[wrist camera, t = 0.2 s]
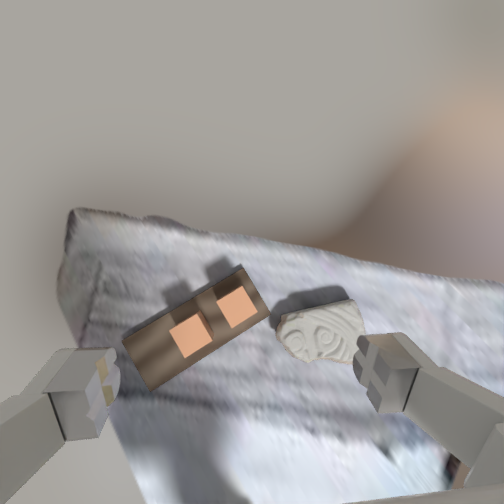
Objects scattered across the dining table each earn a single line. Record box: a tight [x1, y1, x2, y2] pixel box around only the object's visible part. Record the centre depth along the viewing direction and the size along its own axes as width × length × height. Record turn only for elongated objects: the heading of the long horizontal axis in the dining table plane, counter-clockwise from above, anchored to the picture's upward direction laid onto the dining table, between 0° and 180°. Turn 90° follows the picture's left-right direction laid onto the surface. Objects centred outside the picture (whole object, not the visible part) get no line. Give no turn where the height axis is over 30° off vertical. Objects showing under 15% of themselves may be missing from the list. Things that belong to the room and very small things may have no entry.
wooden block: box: [169, 310, 214, 358], centre depth 55 cm, size 6×6×7 cm
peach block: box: [216, 286, 258, 328], centre depth 57 cm, size 6×6×7 cm
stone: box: [276, 299, 366, 364], centre depth 60 cm, size 21×15×5 cm
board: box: [122, 268, 271, 392], centre depth 59 cm, size 13×32×1 cm, turn 121°
